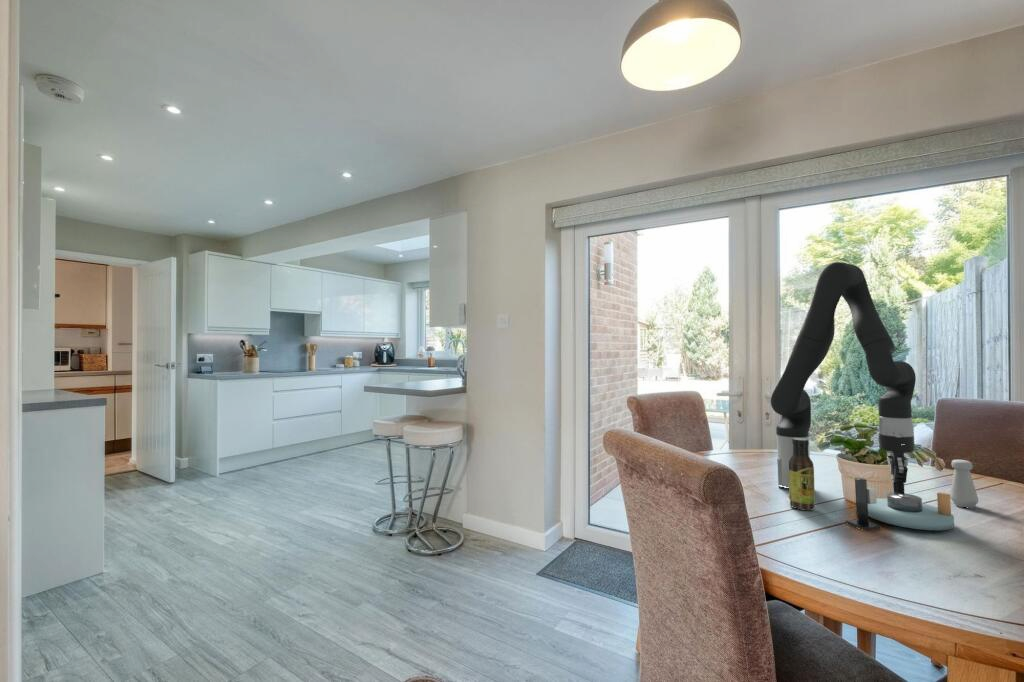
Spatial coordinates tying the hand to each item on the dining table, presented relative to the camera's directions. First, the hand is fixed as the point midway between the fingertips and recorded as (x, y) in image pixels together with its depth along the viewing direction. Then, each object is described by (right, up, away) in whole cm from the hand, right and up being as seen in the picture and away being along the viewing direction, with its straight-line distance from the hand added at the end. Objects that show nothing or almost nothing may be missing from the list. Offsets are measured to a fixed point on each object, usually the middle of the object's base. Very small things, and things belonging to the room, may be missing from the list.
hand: (899, 495), depth 125 cm
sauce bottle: (-23, -6, +6) cm, 24 cm away
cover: (-3, -1, -6) cm, 7 cm away
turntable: (-4, -3, -7) cm, 8 cm away
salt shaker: (+22, -4, +3) cm, 22 cm away
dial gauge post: (-17, -5, -9) cm, 20 cm away
